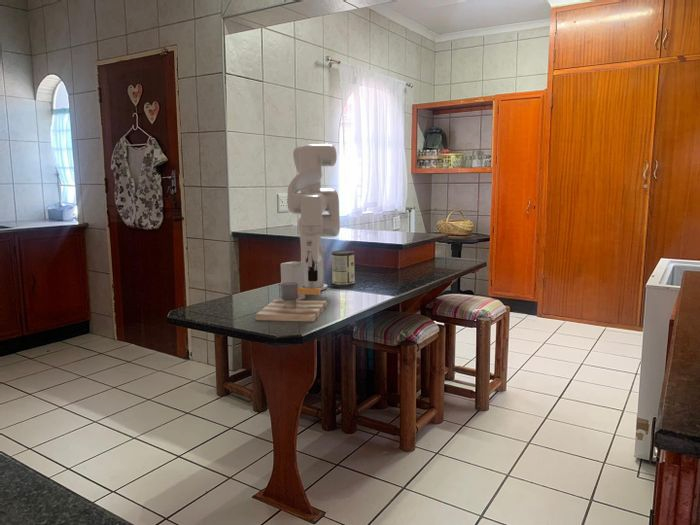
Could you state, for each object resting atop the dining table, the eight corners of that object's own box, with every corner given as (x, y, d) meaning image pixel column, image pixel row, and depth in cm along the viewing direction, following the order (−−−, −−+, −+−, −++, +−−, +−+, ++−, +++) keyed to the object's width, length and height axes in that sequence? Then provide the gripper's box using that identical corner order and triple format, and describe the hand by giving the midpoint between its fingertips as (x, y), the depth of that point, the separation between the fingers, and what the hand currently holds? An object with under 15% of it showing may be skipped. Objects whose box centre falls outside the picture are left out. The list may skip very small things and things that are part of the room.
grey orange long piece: (278, 299, 188) (278, 285, 188) (284, 295, 194) (284, 282, 193) (317, 301, 185) (317, 286, 185) (322, 297, 191) (322, 283, 190)
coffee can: (333, 280, 250) (333, 250, 248) (355, 280, 249) (355, 250, 247) (330, 284, 240) (330, 253, 238) (353, 284, 239) (353, 253, 237)
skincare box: (293, 302, 207) (292, 264, 204) (280, 301, 210) (279, 263, 207) (305, 298, 214) (304, 261, 212) (293, 296, 217) (292, 260, 214)
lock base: (274, 304, 204) (274, 291, 203) (326, 306, 201) (326, 292, 200) (255, 320, 182) (255, 305, 181) (314, 321, 179) (313, 306, 178)
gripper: (318, 233, 184) (319, 285, 187) (325, 227, 198) (326, 276, 202) (296, 232, 184) (298, 285, 188) (305, 227, 199) (306, 276, 202)
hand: (312, 280), depth 195 cm, fingers closed
